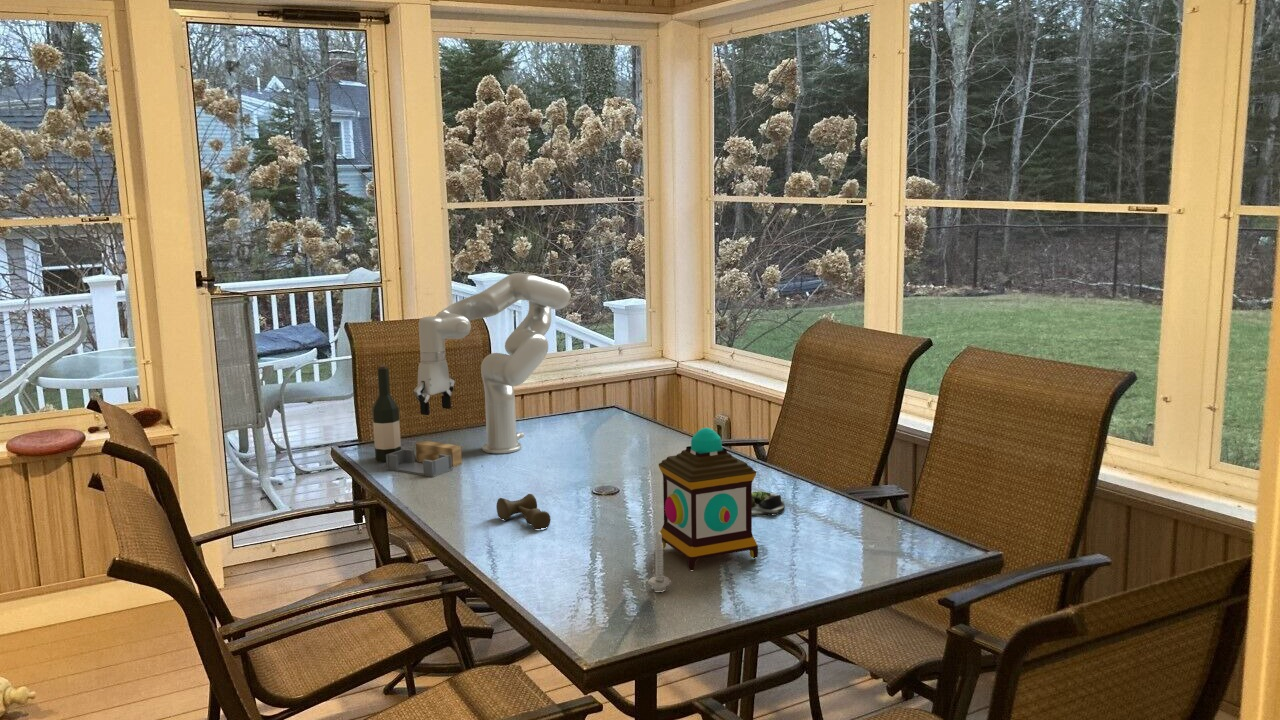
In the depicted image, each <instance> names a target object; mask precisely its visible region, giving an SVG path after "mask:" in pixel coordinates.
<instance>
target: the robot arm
mask: <svg viewBox="0 0 1280 720" xmlns="http://www.w3.org/2000/svg"><path fill="white" fill-rule="evenodd" d="M570 299H571V293H570V291H569V289H568V287H567V286H566V285H564V284H563V283H560V282H557V281H553V280H550V279H548V278H544V277H541V276H538V275H535V274H531V273H523V272H522V273H520V272H515V273H510V274H509V275H507V276H505V277H504V278H501V279H500V280H498V281H497V282H496V283H494V284H492V285H491V286H489V287H487V288H485V290H482V291H481V292H479V293H476V294H472V295H471V296H468V297H466V298H463V299H460V300H458V301H456V302H454V303H452V304H450V305H448V306H447V307H445V308H444V309H442V310H440V311H439V312H438V313H437V314H436V315H435V316H434V315H431V316H423V317H421V318H420V319H419V320H418V334H419V353H420V355H419V356H420V362H419V363H418V369H417V386H416V387H415V388H414V389H413V393H414V395H415V398H416V399H417V401H418V403H419V407H420V409H419V411H420V415H423V416H429V415H430V413H431V412H430V402H429V399H430V397H431V396H434V395H436V394H437V395H438V394H442V395H441V408H442V409H446V410H451V409H452V401H451V400H452V399H451V398H452V394H453V393H452V392H453V391H454V386H455V382H456V380H454V379H452V378H451V377H450V373H449V372H450V371H449V366H448V365H449V364H448V362H447V360H446V359H447V358H446V354H447V352H446V344H445V343H446V342H445V341H446V340H447V339H450V340H460V339H463V338H466V337H467V336H468V335H469V334H470V332H471V329H472V324H471V321H474V320H477V319H485V318H486V319H487V318H490V317H491V318H492V317H494V316H496V315H498V314H499V313H501V312H502V311H505V310H506V309H507V308H509V307H511V306H512V305H514V304H515V303H517V302H519V301H520V300H521V301H528V312H527V314H526V315H525V316H526V317H524V318H523V320H522V321H521V322H520V323H519V324H518V326H516V328H515V329H514V330H513V331H512V332H511V333H510V335H509V336H508V337H507V338H506V341H505V342H504V349H505V352H506V353H501V352H494V353H493V352H492V353H490V354H487V355H485V357H484V358H483V360H482V362H481V364H480V373H481V374H480V375H481V379H482V382H483V390H484V401H485V403H484V404H485V406H484V407H485V423H486V424H485V427H486V429H485V430H486V443H485V444H484V445H482V446H481V447H482V451H483V452H484V453H488V454H496V455H497V454H500V455H501V454H509V453H510V454H511V453H514V452H518V451H520V450H522V443H520V442H519V440H520V439H523V438H525V432H523V431H520V432H517V425H516V424H517V420H516V419H517V418H516V399H515V397H516V396H515V389H514V387H517V386H518V387H519V386H520V385H522V384H523V383H525V381H526V380H528V378H529V377H530V376H531V375H532V374H533V373H534V372H535V371H536V370H537V368H538V367H539V366H540V365H541V364H542V362H543V361H544V360H545V359H546V357H547V354H548V350H549V341H548V340H547V338H546V337H545V335H546V334H547V333H548V331H549V329H550V328H551V324H552V310H562V309H564V308H565V307H567V306H568V304H569V303H570Z"/></svg>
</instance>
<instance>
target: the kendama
mask: <svg viewBox="0 0 1280 720" xmlns="http://www.w3.org/2000/svg"><path fill="white" fill-rule="evenodd" d="M496 514H497V516H498V518H499V517H500V518H501V519H504V520H506V521H507V520H509V519H510V518H511V517H512V516H513V515H515V514H522V515H523V516H524V517H525V522H526V523H527V524H528V525H530V524H532V525H531V526H532V528H533V530H535V529H541V528H546V527H547V528H548V527H549V526H550V524H551V515H550V513H549V512H547V511H545V510H544V511H543V510H542V511H541V510H540V508H538V501H537V498H536V497H535V495H533V494H532V493H527V494H526V495H525V496H524V497H522V498H520V499H518V500H517V499H516V500H509V499H506V498H503V497H499V498H498V499H497V501H496ZM500 518H499V519H500ZM501 519H500V520H501ZM547 528H546V529H547Z"/></svg>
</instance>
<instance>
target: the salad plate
mask: <svg viewBox="0 0 1280 720" xmlns="http://www.w3.org/2000/svg"><path fill="white" fill-rule="evenodd" d="M785 508H786V505H785V503H784V501H783V499H782V496H781V494H776V493H771V492H767V491H760V490H757V491H752V515H767V516H773V515H772V514H776V515H778V514H777V513H779V514H781V513H782V511H783V512H784V510H785ZM780 512H781V513H780Z"/></svg>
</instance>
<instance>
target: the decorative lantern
mask: <svg viewBox="0 0 1280 720" xmlns="http://www.w3.org/2000/svg"><path fill="white" fill-rule="evenodd" d="M690 442H691V443H690V445H687V446H686V449H684V450H681V452H680V453H677V454H676V455H670V456H666V458H665V459H663V460H661V462H659V463H658V468H659V470H660V471H661V474H662V482H663V483H662V484H663V485H662V487H663V488H662V489H663V490H662V491H663V492H662V493H663V525H662V527H661V529H660V531H659V532H660V533H661V534H662V542H663V544H662V545H663V548H664V549H665V548H666V544H667V545H668V546H670V547H671V548H672V549H674V550H675V551H677V552H678V553H679V554H681V555H682V556H683V557H685V558H686V561H687V565H688V570H689V571H690V570H694V571H695V568H696V564H697V561H698V560H701V559H707V558H711V557H717V556H723V555H728V554H734V553H735V554H736V553H738V552H739V553H741V552H743V551H744V552H745V551H749V556H751V557H753V558H755V557H757V558H758V555H759V546H758V543H757V541H756V539H755V538H754V536H753V530H752V529H753V525H752V520H753V516H752V492H753V491H752V486H753V481H754V479H755V478H756V475H757V470H755V469H754V468H753V467H752V466H750V465H748V463H747V462H746V461H743V460H741V459H739V458H737V457H735V456H733V455H732V454H731V453H729V452H728V450H727V449H726V448H724V447H722V446H723V443H722V438H721V436H720V435H719V434H718V433H717V432H716V431H715V430H714V429H712V428H710V427H703V428H699V430H698V431H697V432H696V433H695V434H694V435H693V436H692V437H691V441H690ZM751 557H750V558H751Z"/></svg>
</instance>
